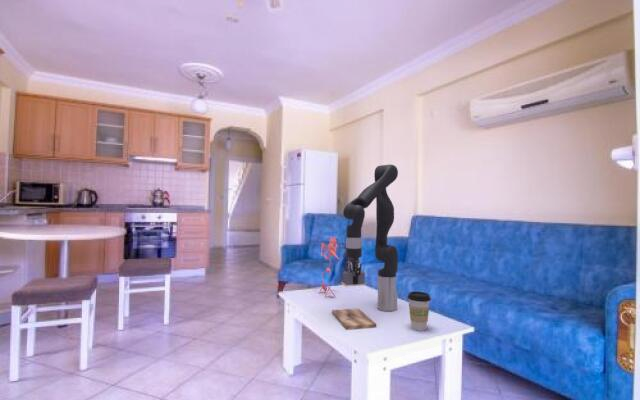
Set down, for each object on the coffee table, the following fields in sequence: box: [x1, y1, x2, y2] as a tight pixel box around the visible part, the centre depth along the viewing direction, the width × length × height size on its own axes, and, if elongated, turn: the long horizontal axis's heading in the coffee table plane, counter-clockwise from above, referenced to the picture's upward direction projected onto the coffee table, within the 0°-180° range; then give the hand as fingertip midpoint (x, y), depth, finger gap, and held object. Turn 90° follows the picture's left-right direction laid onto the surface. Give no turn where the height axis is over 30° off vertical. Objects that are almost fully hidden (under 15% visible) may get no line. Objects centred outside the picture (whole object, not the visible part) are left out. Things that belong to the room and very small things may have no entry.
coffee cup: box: [407, 291, 432, 332], centre depth 145 cm, size 10×10×15 cm
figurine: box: [318, 235, 340, 298], centre depth 198 cm, size 15×26×35 cm, turn 22°
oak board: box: [331, 308, 377, 331], centre depth 154 cm, size 14×22×2 cm, turn 14°
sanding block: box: [341, 270, 366, 287], centre depth 156 cm, size 10×5×6 cm, turn 106°
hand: (353, 282), depth 156 cm, fingers closed on sanding block, 4 cm apart
